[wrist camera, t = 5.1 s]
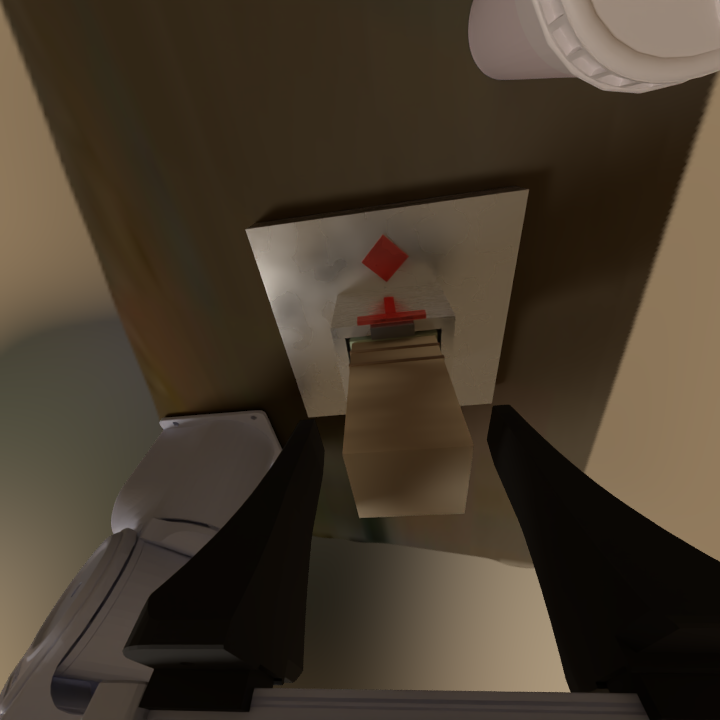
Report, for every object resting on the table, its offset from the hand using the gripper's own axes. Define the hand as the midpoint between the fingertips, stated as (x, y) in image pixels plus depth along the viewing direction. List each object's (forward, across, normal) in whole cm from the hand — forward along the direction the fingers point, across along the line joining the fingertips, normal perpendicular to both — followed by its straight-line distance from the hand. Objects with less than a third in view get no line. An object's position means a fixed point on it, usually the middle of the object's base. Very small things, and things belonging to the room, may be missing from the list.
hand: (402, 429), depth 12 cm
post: (+5, 0, 0) cm, 5 cm away
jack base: (+9, 0, 0) cm, 9 cm away
